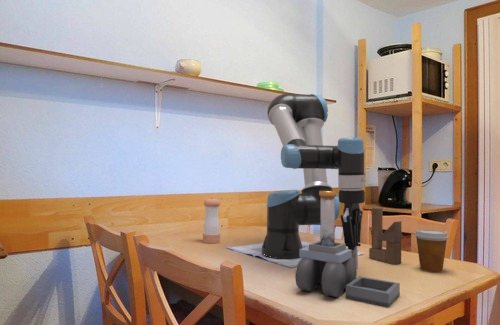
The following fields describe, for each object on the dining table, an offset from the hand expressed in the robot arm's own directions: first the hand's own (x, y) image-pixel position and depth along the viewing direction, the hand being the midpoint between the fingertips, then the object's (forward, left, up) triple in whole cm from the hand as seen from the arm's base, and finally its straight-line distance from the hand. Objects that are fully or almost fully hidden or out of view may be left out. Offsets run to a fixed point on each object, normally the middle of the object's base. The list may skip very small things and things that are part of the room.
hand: (353, 268), depth 111 cm
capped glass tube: (0, -18, +8) cm, 20 cm away
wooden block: (+3, +23, -2) cm, 23 cm away
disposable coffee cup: (+18, +20, -2) cm, 27 cm away
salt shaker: (-66, +12, -2) cm, 67 cm away
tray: (+11, -17, -2) cm, 21 cm away
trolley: (-1, -18, -2) cm, 18 cm away
